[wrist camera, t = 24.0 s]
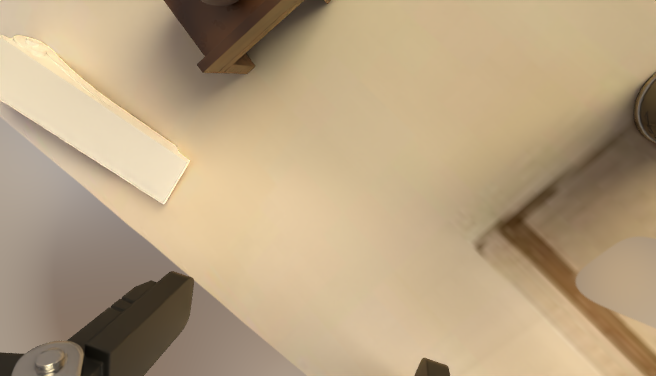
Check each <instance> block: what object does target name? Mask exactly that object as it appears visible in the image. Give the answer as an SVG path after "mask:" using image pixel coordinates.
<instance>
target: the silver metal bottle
mask: <svg viewBox="0 0 656 376" xmlns="http://www.w3.org/2000/svg"><path fill="white" fill-rule="evenodd" d="M201 1H202V2H204V3H206V4H209V5H214V6H228V5H231V4H234V3H235V2H237V1H239V0H201Z"/></svg>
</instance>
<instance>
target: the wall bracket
mask: <svg viewBox="0 0 656 376" xmlns="http://www.w3.org/2000/svg"><path fill="white" fill-rule="evenodd" d="M0 100H1V101H2V102H4V103H6V104H7V105H9V106H10V107H12V108H13V109H15V110H16V111H18V112H20V113H21V114H23V115H24V116H26V117H27V118H29V119H30V120H32V121H34V122H35V123H37V124H38V125H40V126H41V127H43V128H45V129H46V130H48V131H49V132H51V133H52V134H54V135H55V136H57V137H59V138H60V139H62V140H63V141H65V142H66V143H68V144H70V145H71V146H73V147H74V148H76V149H77V150H79V151H80V152H82V153H84V154H85V155H87V156H88V157H90V158H91V159H93V160H95V161H96V162H98V163H99V164H101V165H102V166H104V167H105V168H107V169H109V170H110V171H112V172H113V173H115V174H116V175H118V176H119V177H121V178H123V179H124V180H126V181H127V182H129V183H130V184H132V185H134V186H135V187H137V188H138V189H140V190H141V191H143V192H144V193H146V194H148V195H149V196H151V197H152V198H154V199H155V200H157V201H159V202H160V203H162V204H164V203H165V202H166V201H167V199H168V198H169V196H170V194H171V193H172V191H173V189H174V188H175V186H176V184H177V182H178V181H179V179H180V177H181V176H182V174H183V172H184V171H185V169H186V167H187V165H188V164H189V162H190V160H189V159H188V158H186V157H185V156H183V155H182V154H180V153H179V152H178V151H179V150H178V148H177V146H176V145H174V144H173V143H172V142H170V141H169V140H167V139H166V138H164V137H163V136H161V135H160V134H158V133H157V132H156V131H154V130H153V129H151V128H150V127H148V126H147V125H145V124H144V123H143V122H141V121H140V120H138V119H137V118H135V117H134V116H132V115H131V114H129V113H128V112H127V111H125V110H124V109H122V108H121V107H119V106H118V105H116V104H115V103H114V102H112V101H111V100H109V99H108V98H107V97H105V96H104V95H103V94H101V93H100V92H99V91H97V90H96V89H95V88H94V87H92V86H91V85H90V84H89V83H87V82H86V81H85V80H84V79H82V78H81V77H80V76H79V75H78V74H77V73H76V72H74V71H73V70H72V69H71V68H70V67H69V66H68V65H67V64H66V63H65V62H64V61H63V60H62V59H61V58H60V57H59V56H58V55H57V54H56V53H55V52H54V51H53V50H52V49H51V48H50V47H48V46H47V45H45V44H43V43H42V42H40V41H38V40H36V39H34V38H30V37H26V36H21V35H15V36H14V37H13V38H7V37H6V36H3V35H0Z"/></svg>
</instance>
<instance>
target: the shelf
mask: <svg viewBox="0 0 656 376" xmlns="http://www.w3.org/2000/svg"><path fill="white" fill-rule="evenodd" d="M164 1H165V3H166V4H167V5H168V7H169V8H170V9H171V11H172V12H173V13H174V15H175V16H176V18H177V19H178V20H179V22H180V23H181V24H182V26H183V27H184V28H185V30H186V31H187V33H188V34H189V35H190V37H191V38H192V39H193V41H194V42H195V43H196V45H197V46H198V48H199V49H200V50H201V52H202V53H203V54H204V56H205V57H204V58H203V59H202V60H201V61H200V62H199V63H198V64H197V66H198V67H199V68H200V70H201V71H202V72H203V73H234V74H247V73H248V72H250V71H251V70H252V69H253V68H254V67H255V65H254V64H253V62H252V61H251V60H250V58H249V57H248V55H247V54H246V52H247V51H248V50H250V49H251V48H252V47H253V46H254V45H255V44H256V43H257V42H258V41H260V40H261V39H262V38H263V37H264V36H265V35H266V34H267V33H268V32H270V31H271V30H272V29H273V28H274V27H275V26H276V25H277V24H278V23H280V22H281V21H282V20H283V19H284V18H285V17H286V16H287V15H289V14H290V13H291V12H292V11H293V10H294V9H295V8H296V7H297V6H299V5H300V4H301V3H302V2H303V1H304V0H239V1H237V2H235V3H234V4H231V5H228V6H214V5H209V4H206V3H204V2H202V1H201V0H164ZM324 1H325V2H326V3H327V4H328V3H329V2H330V1H331V0H324Z"/></svg>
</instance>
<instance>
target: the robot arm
mask: <svg viewBox="0 0 656 376" xmlns="http://www.w3.org/2000/svg"><path fill="white" fill-rule="evenodd" d="M634 118H635V123H636V125H637V128H638V129H639V131H640V132H641V134H642V135H643V136H644V137H645V138H647V139H648V140H650V141H651V142H653V143H656V73H655V74H654V75H653V76H652V77H651V78H650V79H649V80H648V81H647V82H646V83H645V84H644V86H643V87H642V89H641V90H640V92H639V94H638V96H637V99H636V102H635V107H634ZM193 286H194V279H193V278H191V277H189V276H185V275H182V274H179V273H177V272H174V271H171V272H169V273H168V274H167V275H166V276H164V277H163V278H162V279H161V280H160V281H158V282H154V281H149V282H146V283H144V284H141V285H139V286H136V287H134V288H133V289H132V290H131V291H129V292H128V293H127V294H126V295H124V296H123V297H122V299H119V300H118V301H117V302H115V303H114V304H113V305H112V306H111V308H108V309H107V310H105V311H104V312H103V313H101V314H100V315H99V316H98V317H96V318H95V319H94V320H93V321H91V322H90V323H89V324H88V325H87V326H85V327H84V328H82V329H81V330H80V331H79V332H77V333H76V334H75V335H74V336H72V337H71V338H70V339H68V340H67V341H53V342H49V343H45V344H42V345H40V346H37V347H35V348H33V349H32V350H30V351H28V352H27V353H26V354H14V353H0V376H144V375H145V374H146V373H147V371H148V370H149V369H150V368H151V367H152V366H153V364H154V363H155V362H156V361H157V360H158V359H159V357H160V356H161V355H162V354H163V353H164V352H165V350H166V349H167V348H168V347H169V346H170V344H171V343H172V342H173V341H174V340H175V339H176V338H177V336H178V335H179V334H180V333H181V332H182V330H183V329H184V327H185V325H186V323H187V321H188V319H189V316H190V310H191V302H192V293H193ZM415 376H450V373H449V368H448V366H447V365H444V364H441V363H438V362H435V361H433V360H430V359H427V358H423V359H422V360H421V362H420V364H419V367H418V369H417V371H416V373H415Z"/></svg>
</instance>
